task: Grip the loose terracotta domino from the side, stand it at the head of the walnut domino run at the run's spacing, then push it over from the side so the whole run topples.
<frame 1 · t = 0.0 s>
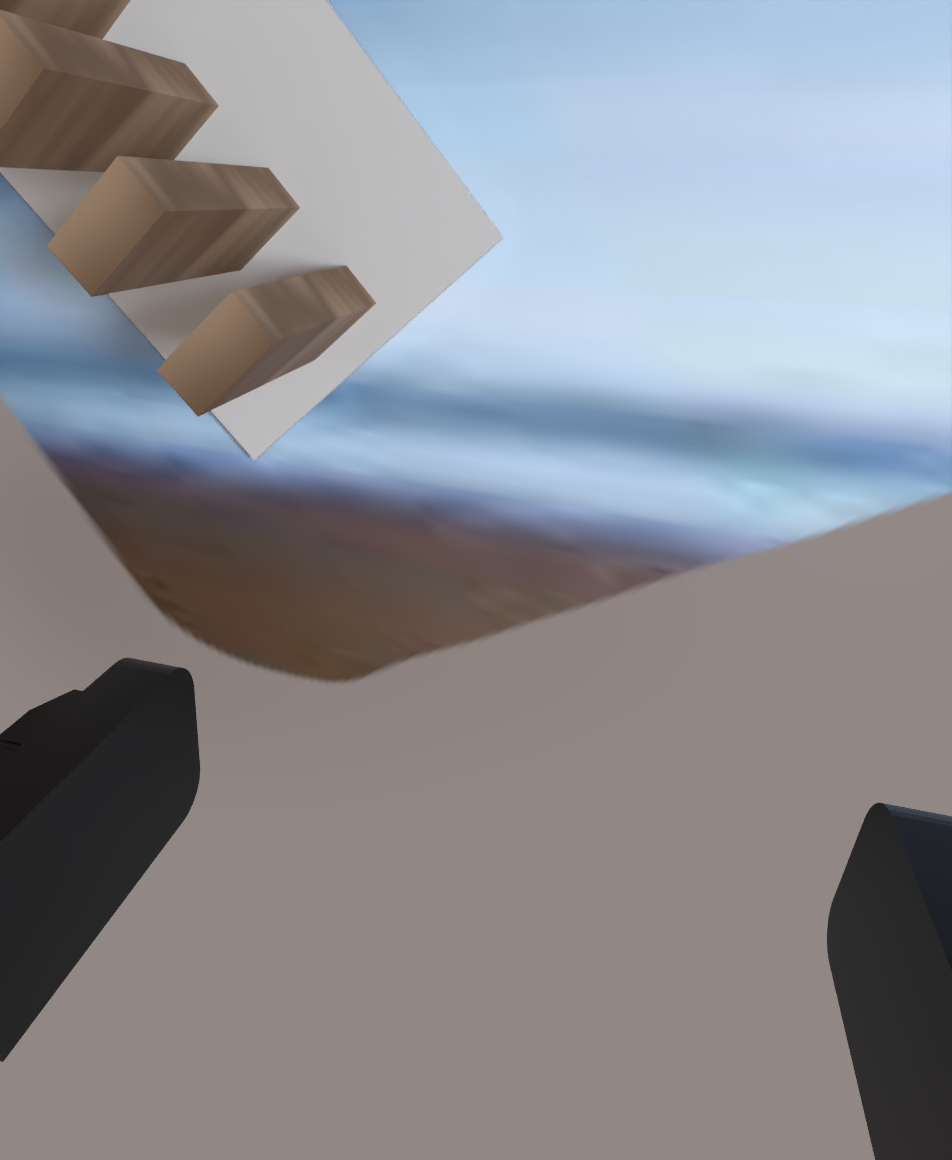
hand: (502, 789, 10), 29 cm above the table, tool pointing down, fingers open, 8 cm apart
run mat: (104, 28, 34), on the table
domino 5: (330, 314, 37), point 1 cm above the table, touching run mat
domino 2: (86, 14, 33), point 1 cm above the table, touching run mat
domino 4: (254, 220, 36), point 1 cm above the table, touching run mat
domino 3: (172, 120, 34), point 1 cm above the table, touching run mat
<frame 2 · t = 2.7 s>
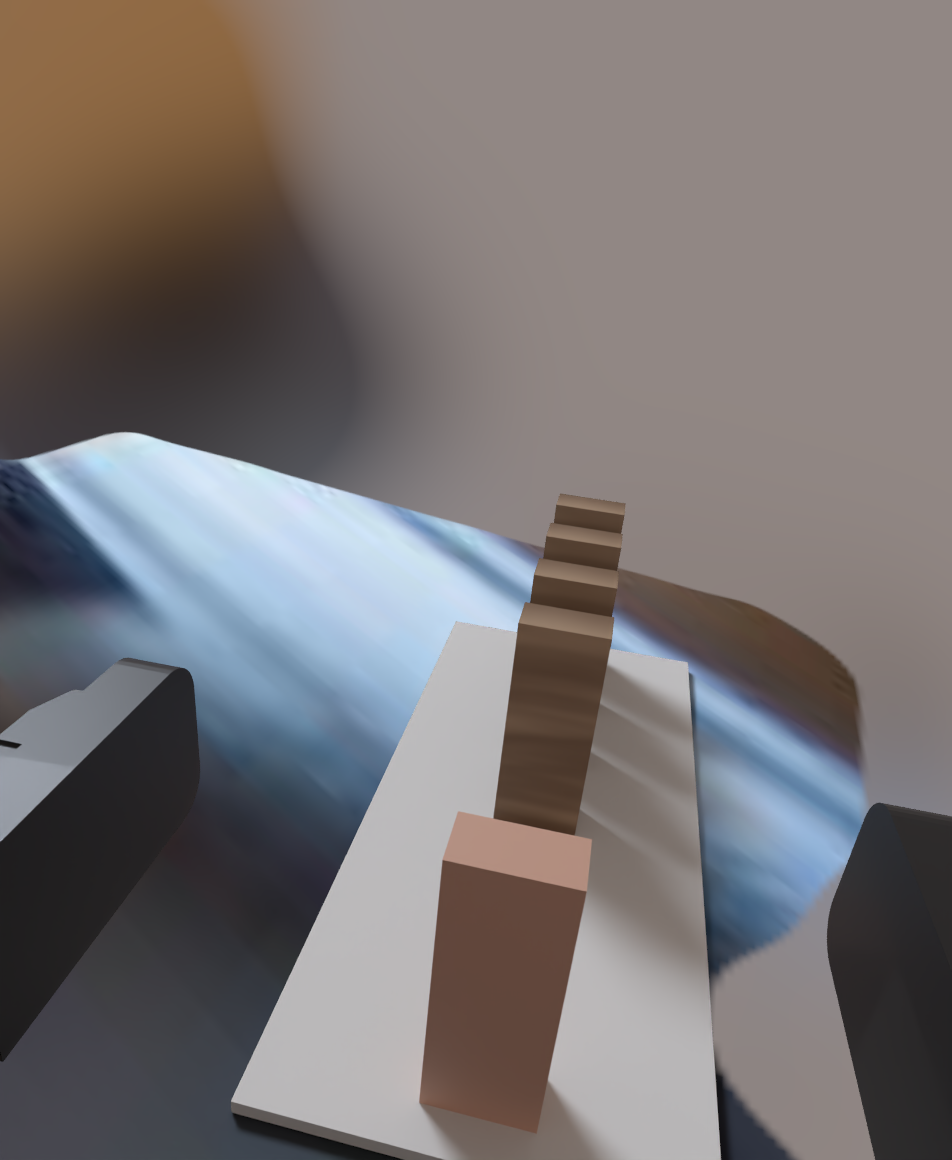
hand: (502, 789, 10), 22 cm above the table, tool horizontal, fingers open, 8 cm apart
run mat: (536, 816, 41), on the table
domino 5: (566, 660, 54), point 1 cm above the table, touching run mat
domino 2: (536, 813, 40), point 1 cm above the table, touching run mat
domino 4: (557, 702, 49), point 1 cm above the table, touching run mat
domino 3: (548, 752, 45), point 1 cm above the table, touching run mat
loose domino: (482, 1088, 28), point 1 cm above the table, touching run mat
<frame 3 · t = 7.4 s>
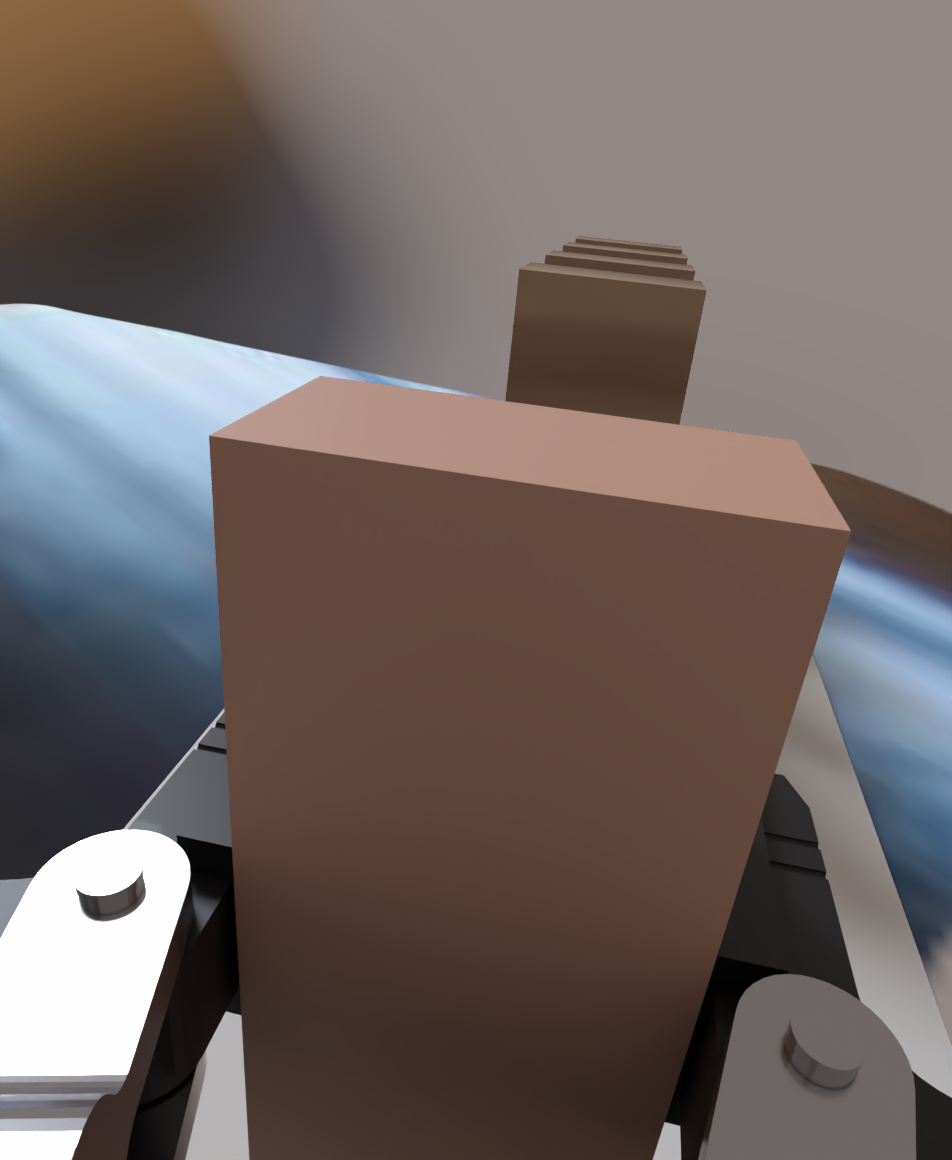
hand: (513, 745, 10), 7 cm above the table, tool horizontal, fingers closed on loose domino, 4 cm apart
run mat: (549, 693, 24), on the table
domino 5: (587, 507, 36), point 1 cm above the table, touching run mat
domino 2: (550, 685, 23), point 1 cm above the table, touching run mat
domino 4: (578, 550, 32), point 1 cm above the table, touching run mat
domino 3: (566, 606, 28), point 1 cm above the table, touching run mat
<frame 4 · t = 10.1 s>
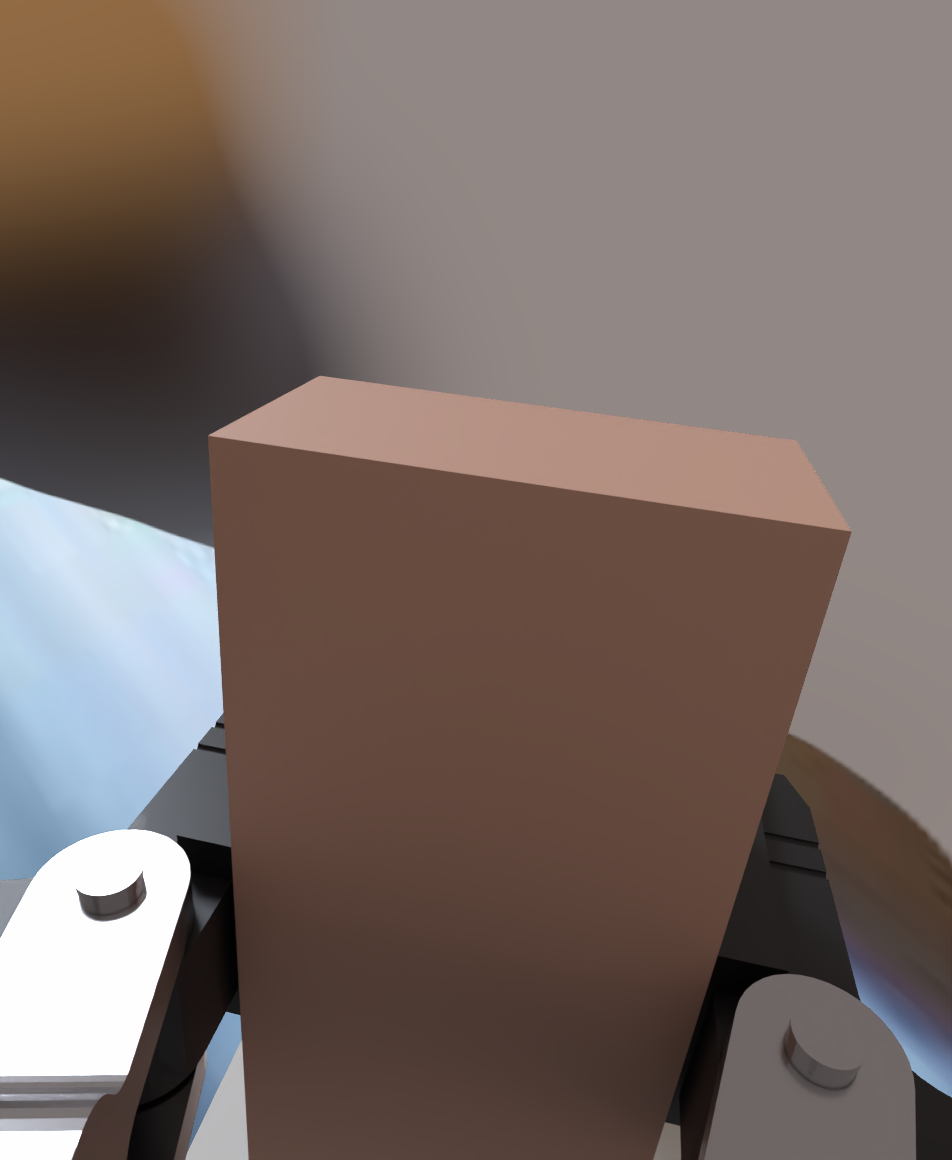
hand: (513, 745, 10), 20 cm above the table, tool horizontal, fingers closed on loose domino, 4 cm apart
when the fingers open (8 cm above the table, at t = 12.8 s): loose domino stays where it is, resting on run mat.
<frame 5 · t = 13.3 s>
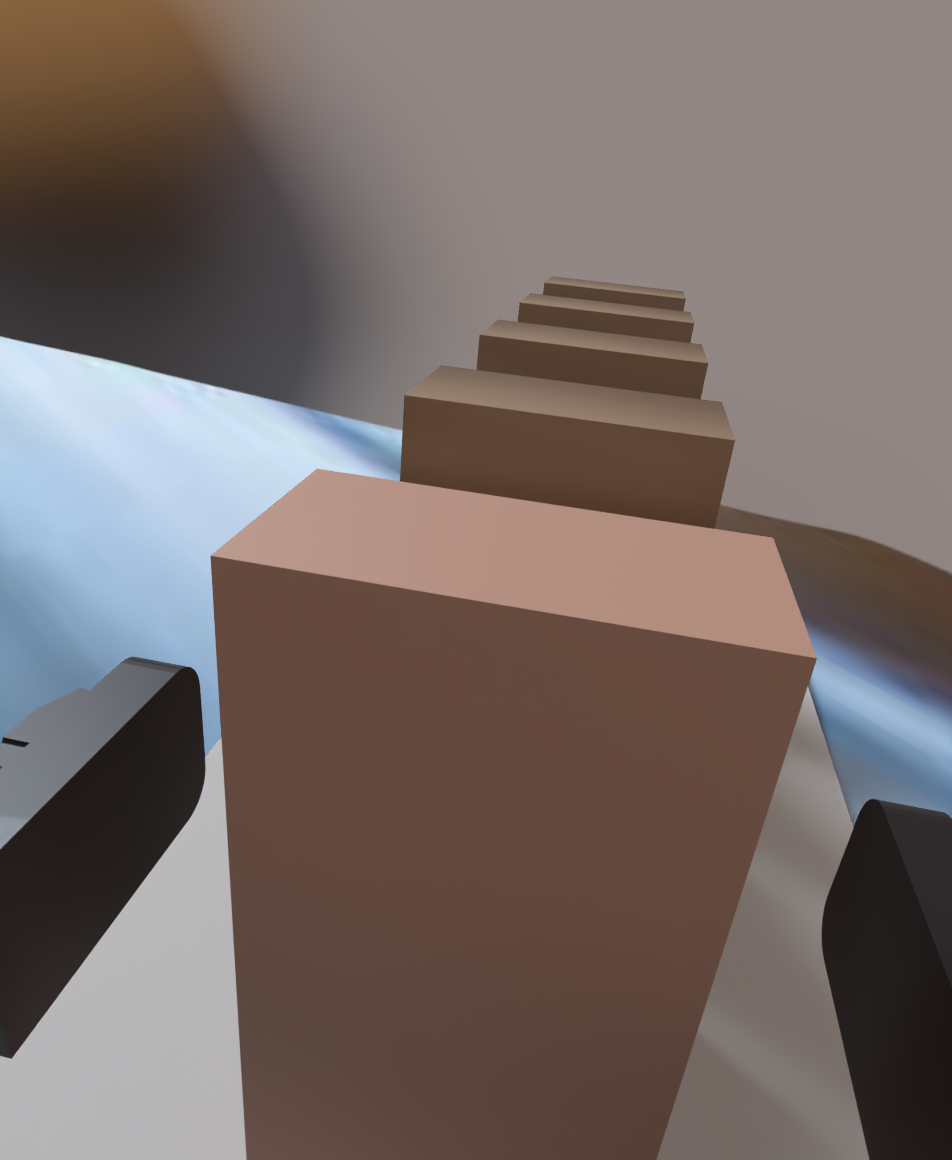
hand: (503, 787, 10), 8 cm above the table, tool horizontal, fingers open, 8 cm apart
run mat: (492, 971, 16), on the table
domino 5: (564, 614, 29), point 1 cm above the table, touching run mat
domino 2: (490, 972, 16), point 1 cm above the table, touching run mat
domino 4: (548, 689, 24), point 1 cm above the table, touching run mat
domino 3: (526, 799, 20), point 1 cm above the table, touching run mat
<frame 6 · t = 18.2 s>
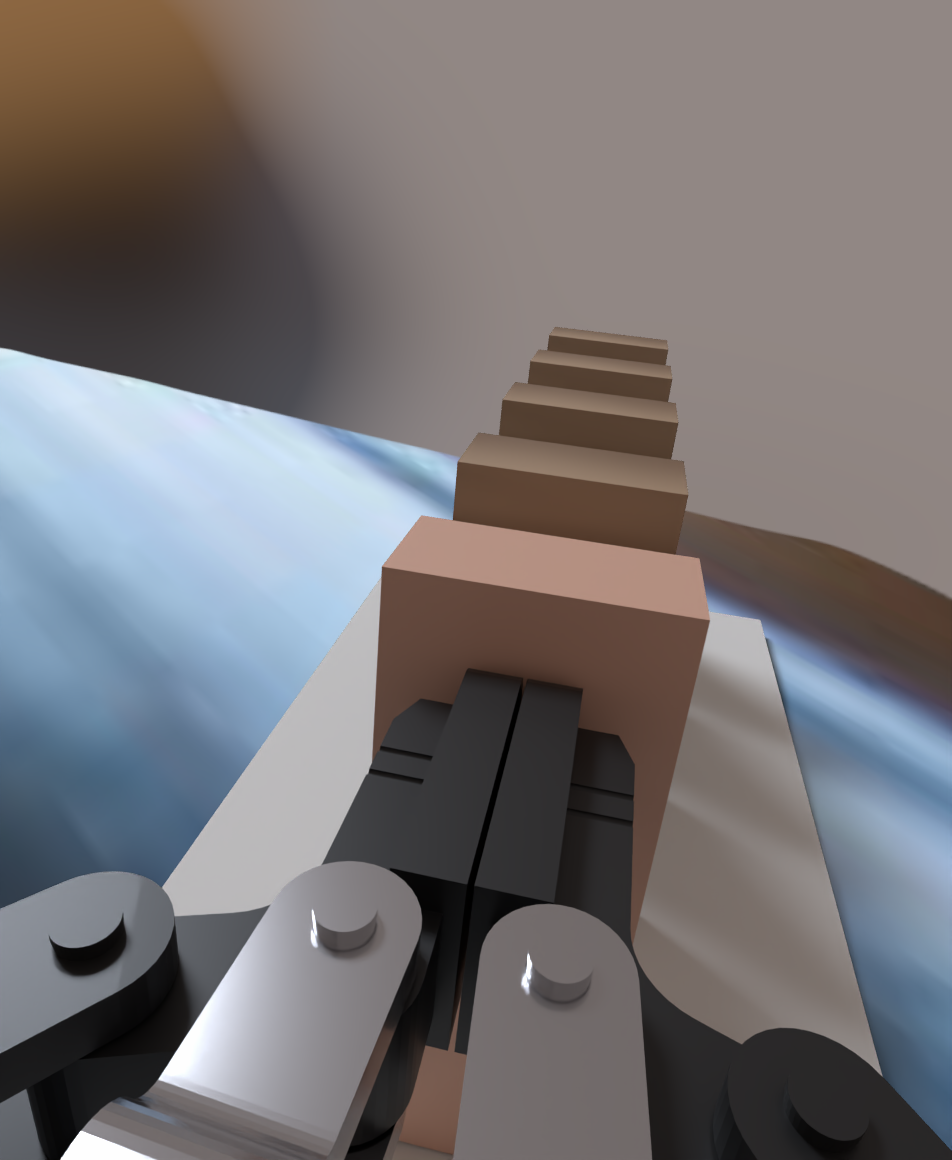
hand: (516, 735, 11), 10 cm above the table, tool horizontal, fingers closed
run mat: (511, 898, 20), on the table
domino 5: (566, 615, 33), point 1 cm above the table, touching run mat
domino 2: (510, 896, 20), point 1 cm above the table, touching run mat
domino 4: (553, 680, 29), point 1 cm above the table, touching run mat
domino 3: (536, 768, 24), point 1 cm above the table, touching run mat
loose domino: (472, 1102, 15), point 1 cm above the table, touching gripper, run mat
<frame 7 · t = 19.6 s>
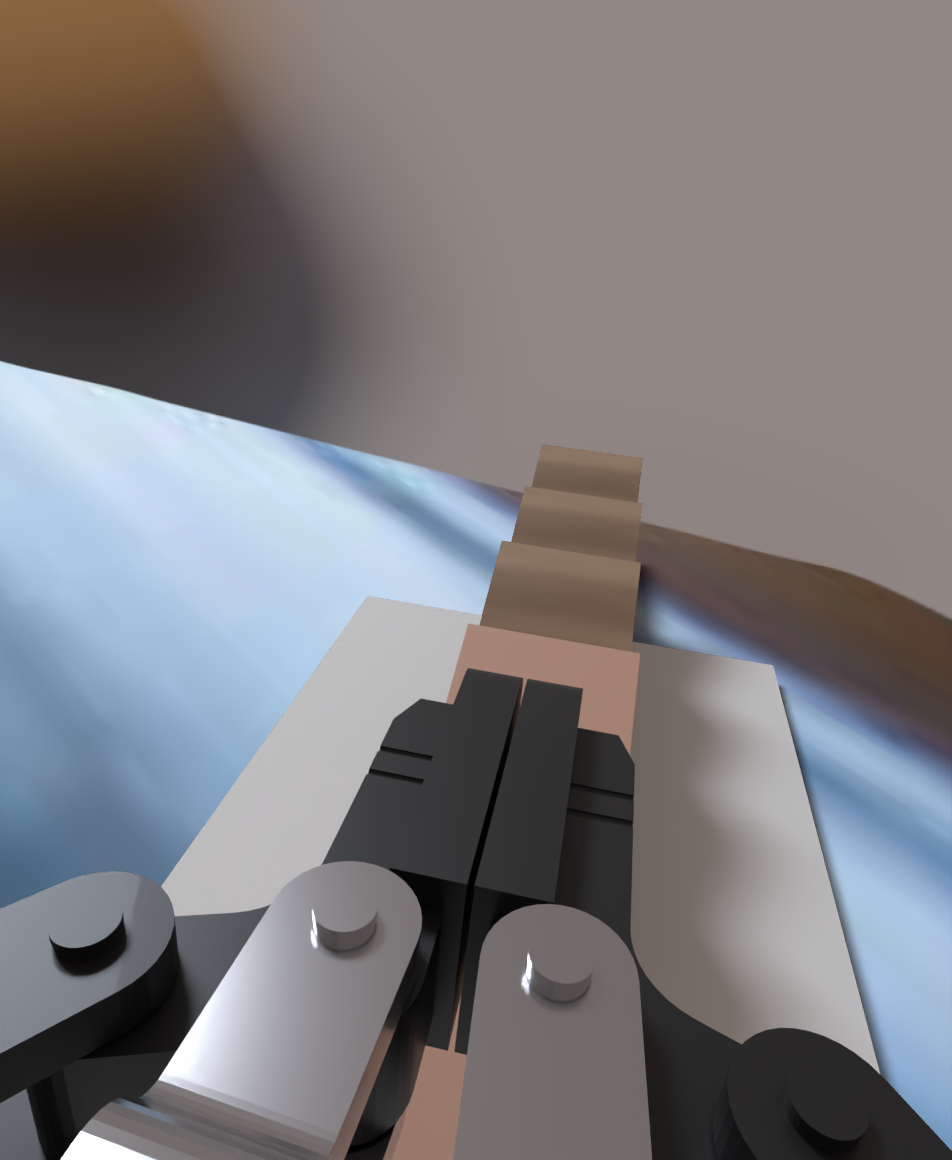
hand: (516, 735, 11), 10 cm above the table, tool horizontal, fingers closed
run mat: (483, 1036, 17), on the table
domino 2: (495, 961, 17), point 2 cm above the table, tilted 67°, touching domino 3, loose domino
domino 4: (549, 694, 26), point 2 cm above the table, tilted 67°, touching domino 3, domino 5
domino 3: (527, 802, 21), point 2 cm above the table, tilted 67°, touching domino 2, domino 4, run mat
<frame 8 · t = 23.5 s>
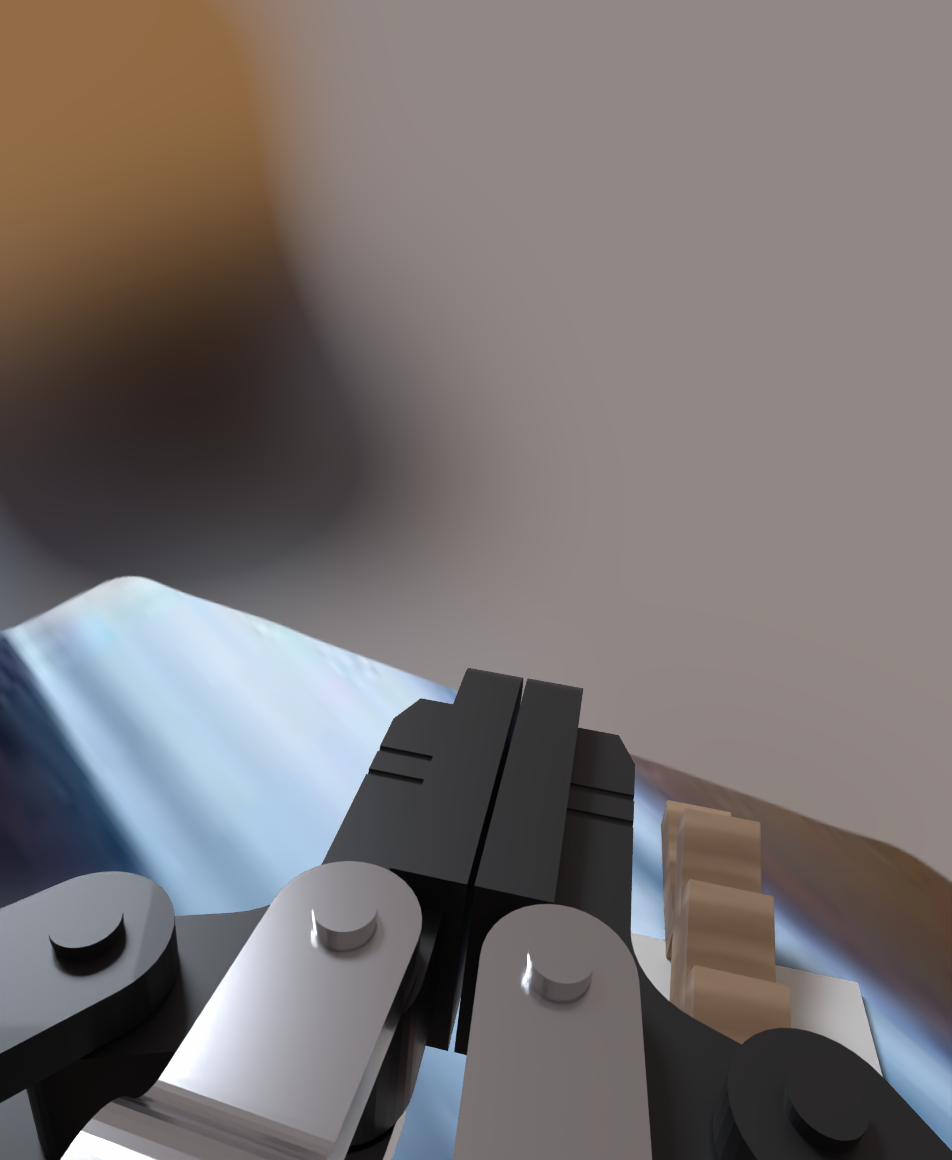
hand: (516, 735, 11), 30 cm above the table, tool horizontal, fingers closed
domino 5: (708, 952, 42), point 2 cm above the table, tilted 94°, touching domino 4, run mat
domino 4: (715, 1042, 38), point 2 cm above the table, tilted 67°, touching domino 3, domino 5
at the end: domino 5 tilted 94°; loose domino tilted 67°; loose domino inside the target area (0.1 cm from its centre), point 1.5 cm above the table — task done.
